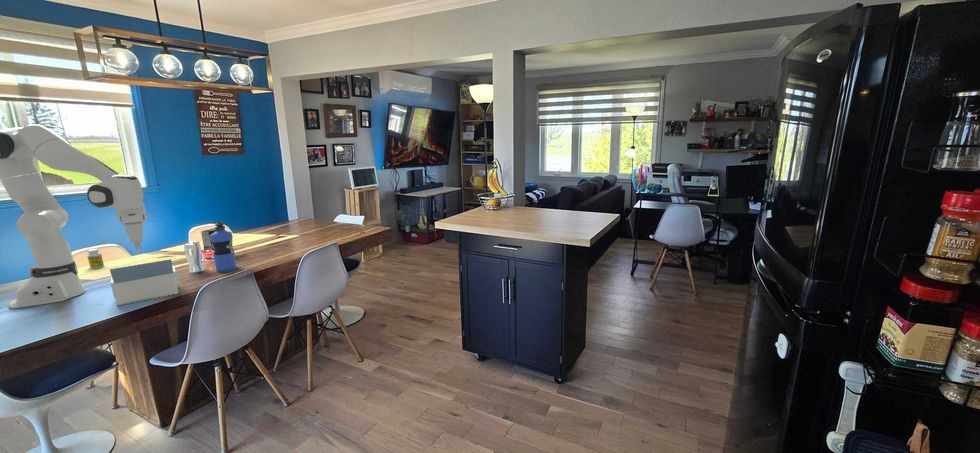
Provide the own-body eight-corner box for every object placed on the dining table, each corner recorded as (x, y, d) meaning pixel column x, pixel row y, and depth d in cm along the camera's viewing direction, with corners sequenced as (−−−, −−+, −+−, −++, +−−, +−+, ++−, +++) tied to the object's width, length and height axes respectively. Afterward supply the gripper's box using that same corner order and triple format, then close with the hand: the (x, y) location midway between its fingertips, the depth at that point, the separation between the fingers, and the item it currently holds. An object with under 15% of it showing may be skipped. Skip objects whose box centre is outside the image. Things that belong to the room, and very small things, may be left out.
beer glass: (191, 274, 203) (185, 245, 200) (186, 271, 208) (181, 243, 204) (207, 270, 209) (202, 242, 206) (202, 267, 213) (197, 240, 210)
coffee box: (214, 259, 229) (209, 231, 225) (205, 258, 230) (200, 231, 226) (227, 254, 237) (223, 227, 234) (218, 254, 239) (214, 227, 235)
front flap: (113, 282, 163) (114, 283, 163) (109, 269, 157) (109, 270, 157) (173, 272, 175) (173, 273, 175) (171, 259, 169) (171, 260, 169)
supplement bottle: (103, 264, 221) (100, 247, 219) (104, 266, 217) (100, 249, 215) (90, 267, 218) (86, 249, 216) (90, 269, 214) (86, 251, 212)
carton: (115, 306, 164) (110, 283, 162) (116, 296, 175) (111, 274, 173) (180, 293, 178) (175, 271, 176) (177, 284, 188) (173, 264, 186)
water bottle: (213, 273, 204) (204, 224, 199) (219, 267, 213) (212, 221, 208) (233, 271, 207) (226, 223, 201) (239, 265, 216) (232, 219, 210)
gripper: (121, 213, 167) (127, 245, 170) (121, 220, 152) (128, 255, 155) (141, 211, 171) (147, 243, 174) (143, 218, 156) (149, 252, 159)
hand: (138, 249), depth 164 cm, fingers closed
